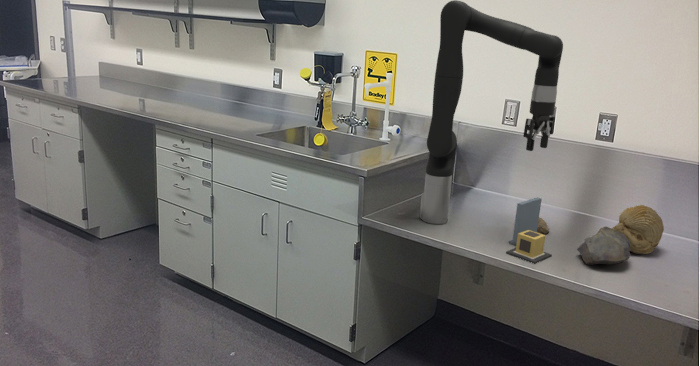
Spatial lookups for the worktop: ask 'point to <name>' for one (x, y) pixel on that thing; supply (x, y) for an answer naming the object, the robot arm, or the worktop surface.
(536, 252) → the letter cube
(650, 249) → the fossil
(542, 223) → the rock
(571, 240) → the worktop surface
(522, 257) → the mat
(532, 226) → the screen
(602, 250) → the stone
